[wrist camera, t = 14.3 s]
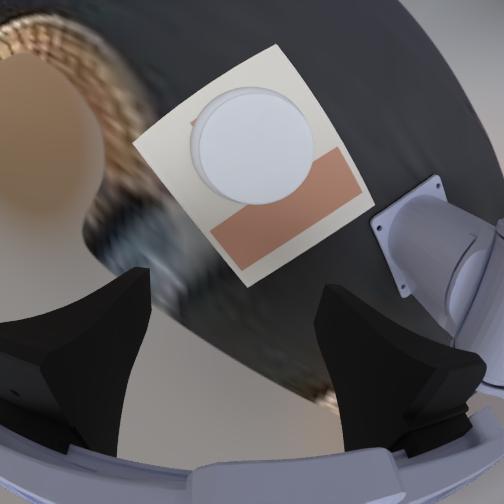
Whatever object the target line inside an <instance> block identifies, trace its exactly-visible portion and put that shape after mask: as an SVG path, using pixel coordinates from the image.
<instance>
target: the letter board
mask: <svg viewBox="0 0 504 504" xmlns="http://www.w3.org/2000/svg"><path fill="white" fill-rule="evenodd" d="M240 87H261V88H266V89H270V90H273V91H276V92H278V93H280V94H282V95H284V96H285V97H287V98H288V99H289V100H291V101H292V102H293V103H294V104H295V105H296V106H297V107H298V108H299V110H300V111H301V112H302V114H303V115H304V117H305V119H306V121H307V122H308V124H309V126H310V128H311V131H312V135H313V139H314V158H313V163H312V166H311V169H310V171H309V173H308V175H307V177H306V178H305V180H304V181H303V183H302V184H301V185H300V186H299V187H298V188H297V189H296V190H295V191H294V192H292V193H291V194H290V195H288V196H287V197H285V198H283V199H281V200H278V201H276V202H272V203H268V204H261V205H252V204H244V203H237V202H233V201H230V200H227V199H225V198H223V197H221V196H219V195H217V194H216V193H214V192H213V191H212V190H211V189H209V188H208V187H207V186H206V185H205V184H204V183H203V181H202V180H201V179H200V177H199V176H198V174H197V172H196V170H195V168H194V166H193V163H192V159H191V154H190V137H191V131H192V128H193V125H194V123H195V121H196V119H197V117H198V115H199V114H200V112H201V111H202V110H203V108H204V107H205V106H206V105H207V104H208V103H209V102H210V101H212V100H213V99H214V98H216V97H217V96H219V95H220V94H222V93H224V92H227V91H229V90H232V89H236V88H240ZM133 145H134V146H135V147H136V149H137V150H138V151H139V152H140V154H141V155H142V156H143V158H144V159H145V160H146V162H147V163H148V164H149V166H150V167H151V168H152V169H153V171H154V172H155V173H156V175H157V176H158V177H159V178H160V180H161V181H162V182H163V184H164V185H165V186H166V187H167V189H168V190H169V191H170V193H171V194H172V195H173V196H174V198H175V199H176V200H177V201H178V203H179V204H180V205H181V206H182V208H183V209H184V210H185V212H186V213H187V214H188V215H189V217H190V218H191V219H192V220H193V222H194V223H195V224H196V225H197V227H198V228H199V229H200V230H201V232H202V233H203V234H204V235H205V236H206V238H207V239H208V240H209V241H210V243H211V244H212V245H213V246H214V248H215V249H216V250H217V251H218V252H219V254H220V255H221V256H222V257H223V259H224V260H225V261H226V262H227V263H228V265H229V266H230V267H231V268H232V270H233V271H234V272H235V273H236V274H237V276H238V277H239V278H240V279H241V280H242V282H243V283H244V284H245V285H246V286H247V288H248V287H249V286H251V285H253V284H254V283H256V282H257V281H259V280H261V279H262V278H264V277H265V276H267V275H269V274H270V273H272V272H273V271H275V270H277V269H278V268H280V267H281V266H283V265H284V264H286V263H288V262H289V261H291V260H292V259H294V258H295V257H297V256H298V255H300V254H302V253H303V252H305V251H306V250H308V249H309V248H311V247H312V246H314V245H316V244H317V243H319V242H320V241H322V240H323V239H325V238H326V237H328V236H329V235H331V234H332V233H334V232H335V231H337V230H338V229H340V228H341V227H343V226H344V225H346V224H347V223H349V222H350V221H352V220H353V219H355V218H356V217H358V216H359V215H361V214H362V213H364V212H365V211H367V210H368V209H370V208H371V207H373V206H374V205H375V204H374V202H373V199H372V197H371V195H370V193H369V191H368V189H367V187H366V185H365V183H364V181H363V179H362V177H361V175H360V173H359V171H358V169H357V168H356V166H355V164H354V162H353V160H352V158H351V156H350V155H349V153H348V151H347V149H346V147H345V146H344V144H343V142H342V140H341V139H340V137H339V135H338V134H337V132H336V130H335V128H334V127H333V125H332V124H331V122H330V120H329V119H328V117H327V115H326V114H325V112H324V111H323V109H322V107H321V106H320V104H319V103H318V101H317V100H316V98H315V97H314V95H313V94H312V92H311V91H310V89H309V88H308V86H307V85H306V83H305V82H304V81H303V79H302V78H301V76H300V75H299V74H298V72H297V71H296V69H295V68H294V67H293V65H292V64H291V63H290V61H289V60H288V59H287V57H286V56H285V55H284V53H283V52H282V51H281V49H280V48H279V47H278V46H277V44H276V45H274V46H272V47H270V48H268V49H266V50H264V51H262V52H261V53H259V54H257V55H255V56H253V57H252V58H250V59H248V60H246V61H245V62H243V63H241V64H240V65H238V66H236V67H235V68H233V69H231V70H230V71H228V72H227V73H225V74H223V75H222V76H220V77H219V78H217V79H216V80H214V81H213V82H211V83H210V84H208V85H207V86H205V87H204V88H202V89H201V90H199V91H198V92H196V93H195V94H194V95H192V96H191V97H189V98H188V99H187V100H185V101H184V102H183V103H181V104H180V105H179V106H177V107H176V108H175V109H173V110H172V111H171V112H169V113H168V114H167V115H166V116H164V117H163V118H162V119H161V120H159V121H158V122H157V123H156V124H154V125H153V126H152V127H151V128H150V129H148V130H147V131H146V132H145V133H144V134H142V135H141V136H140V137H139V138H138V139H137V140H136V141H134V142H133Z"/></svg>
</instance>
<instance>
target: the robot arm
mask: <svg viewBox="0 0 504 504" xmlns="http://www.w3.org/2000/svg"><path fill="white" fill-rule="evenodd" d="M437 184H438V187H436V185H437ZM370 225H371V227H372V229H373V232H374V234H375V236H376V238H377V240H378V243H379V245H380V247H381V249H382V252H383V254H384V256H385V258H386V261H387V263H388V266H389V268H390V270H391V273H392V275H393V278H394V280H395V283H396V285H397V288H398V291H399V293H400V295H401V297H403V298H405V297H407V296H409V295H410V294H412V295H413V296H414V297H415V298H416V299H417V300H418V301H419V302H420V303H421V305H422V306H423V307H424V308H425V309H426V310H427V311H428V312H429V314H430V315H431V316H432V317H433V318H434V319H435V320H436V322H437V323H438V324H439V325H440V326H441V327H442V328H444V329H445V330H447V331H448V333H449V334H450V335H451V336H452V337H453V339H452V341H451V343H450V346H446V345H443V344H440V343H437V342H435V341H432V340H430V339H427V338H425V337H423V336H420V335H418V334H416V333H414V332H412V331H410V330H408V329H406V328H404V327H402V326H400V325H398V324H397V323H395V322H393V321H392V320H390V319H389V318H387V317H386V316H384V315H382V314H381V313H379V312H378V311H376V310H375V309H374V308H372V307H371V306H369V305H368V304H366V303H365V302H364V301H362V300H361V299H360V298H358V297H357V296H355V295H354V294H353V293H351V292H350V291H348V290H347V289H345V288H343V287H342V286H340V285H334V284H325V287H324V291H323V294H322V297H321V301H320V304H319V307H318V311H317V314H316V317H315V320H314V327H315V332H316V337H317V341H318V345H319V347H320V350H321V353H322V356H323V358H324V361H325V364H326V367H327V369H328V372H329V375H330V377H331V380H332V383H333V386H334V390H335V393H336V398H337V403H338V407H339V413H340V418H341V424H342V431H343V440H344V449H345V452H344V453H338V454H331V455H324V456H317V457H307V458H297V459H284V460H261V461H260V460H259V461H235V462H218V463H214V464H210V465H205V466H201V467H198V468H196V469H195V470H193V471H191V470H181V469H174V468H166V467H160V466H154V465H148V464H143V463H138V462H133V461H128V460H124V459H120V458H117V445H118V435H119V427H120V420H121V414H122V408H123V402H124V397H125V392H126V388H127V383H128V379H129V376H130V373H131V370H132V367H133V365H134V362H135V359H136V357H137V354H138V351H139V349H140V346H141V344H142V341H143V339H144V336H145V334H146V331H147V327H148V323H149V319H150V315H151V311H152V308H151V291H150V268H141V267H134V268H132V269H130V270H129V271H127V272H125V273H124V274H122V275H121V276H119V277H118V278H116V279H114V280H113V281H111V282H110V283H108V284H107V285H105V286H103V287H102V288H100V289H98V290H96V291H95V292H93V293H91V294H89V295H88V296H86V297H84V298H82V299H80V300H78V301H76V302H74V303H71V304H69V305H67V306H64V307H62V308H59V309H56V310H53V311H51V312H48V313H45V314H42V315H38V316H34V317H31V318H26V319H22V320H17V321H10V322H3V323H0V485H1V486H3V487H5V488H6V489H8V490H9V491H11V492H13V493H14V494H16V495H18V496H19V497H21V498H23V499H25V500H26V501H28V502H30V503H32V504H435V503H436V502H438V501H440V500H442V499H444V498H446V497H447V496H449V495H451V494H453V493H454V492H456V491H458V490H459V489H461V488H463V487H464V486H466V485H468V484H469V483H471V482H472V481H474V480H475V479H477V478H478V477H479V476H480V475H482V474H483V473H484V472H485V471H487V470H488V469H490V468H491V467H492V466H493V465H495V464H496V463H497V462H498V461H499V460H501V459H502V458H503V457H504V429H503V427H502V426H501V424H500V423H499V421H498V419H497V418H496V416H495V415H494V413H493V412H492V410H491V408H490V407H487V408H485V409H483V410H481V411H479V412H476V413H475V414H473V415H472V416H470V417H469V418H468V417H467V415H466V414H465V413H466V412H467V411H468V410H469V407H468V406H467V404H466V401H467V400H468V399H469V398H470V396H471V395H472V394H473V393H474V391H475V390H476V391H478V392H481V393H484V394H489V395H493V396H497V397H500V398H502V399H504V218H503V219H499V220H498V222H497V226H496V227H495V226H493V225H491V224H489V223H487V222H486V221H484V220H482V219H480V218H478V217H476V216H474V215H472V214H470V213H468V212H466V211H464V210H462V209H460V208H458V207H456V206H454V205H452V204H450V203H448V202H447V199H446V195H445V192H444V189H443V186H442V182H441V179H440V177H439V176H438V175H432V176H431V177H430V178H428V179H427V180H426V181H424V182H423V183H421V184H420V185H419V186H417V187H416V188H414V189H413V190H412V191H410V192H409V193H407V194H406V195H404V196H403V197H402V198H400V199H399V200H397V201H396V202H394V203H393V204H392V205H390V206H389V207H387V208H386V209H384V210H383V211H381V212H380V213H378V214H377V215H376V216H374V217H373V218H372V219H371V221H370ZM379 225H380V228H379V229H378V230H377V227H378V226H379ZM402 285H403V286H402ZM401 286H402V287H401Z"/></svg>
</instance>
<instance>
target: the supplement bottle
mask: <svg viewBox="0 0 504 504" xmlns="http://www.w3.org/2000/svg"><path fill="white" fill-rule="evenodd" d="M190 154H191V159H192V163H193V166H194V168H195V170H196V172H197V174H198V176H199V177H200V179H201V180H202V181H203V183H204V184H205V185H206V186H207V187H208V188H209V189H211V190H212V191H213V192H214V193H216V194H217V195H219V196H221V197H223V198H225V199H227V200H230V201H233V202H237V203H244V204H252V205H261V204H268V203H272V202H276V201H278V200H281V199H283V198H285V197H287V196H288V195H290V194H291V193H292V192H294V191H295V190H296V189H297V188H298V187H299V186H300V185H301V184H302V183H303V181H304V180H305V178H306V177H307V175H308V173H309V171H310V169H311V166H312V163H313V158H314V139H313V135H312V131H311V128H310V126H309V124H308V122H307V121H306V119H305V117H304V115H303V114H302V112H301V111H300V110H299V108H298V107H297V106H296V105H295V104H294V103H293V102H292V101H291V100H289V99H288V98H287V97H285V96H284V95H282V94H280V93H278V92H276V91H273V90H270V89H266V88H261V87H240V88H236V89H232V90H229V91H227V92H224V93H222V94H220V95H219V96H217V97H216V98H214V99H213V100H212V101H210V102H209V103H208V104H207V105H206V106H205V107H204V108H203V110H202V111H201V112H200V114H199V115H198V117H197V119H196V121H195V123H194V125H193V128H192V131H191V137H190Z"/></svg>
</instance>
